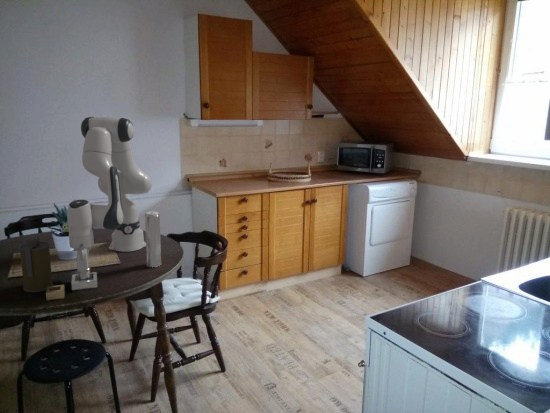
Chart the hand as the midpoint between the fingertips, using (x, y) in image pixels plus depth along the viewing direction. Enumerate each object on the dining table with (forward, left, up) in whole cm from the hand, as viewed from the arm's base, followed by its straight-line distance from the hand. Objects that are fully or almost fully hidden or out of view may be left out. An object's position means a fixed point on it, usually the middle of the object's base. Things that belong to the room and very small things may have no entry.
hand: (84, 273), depth 171 cm
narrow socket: (+8, -10, -5) cm, 14 cm away
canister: (-3, -17, -5) cm, 18 cm away
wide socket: (0, 0, -5) cm, 5 cm away
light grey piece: (-13, +29, -5) cm, 32 cm away
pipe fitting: (0, 0, -5) cm, 5 cm away
